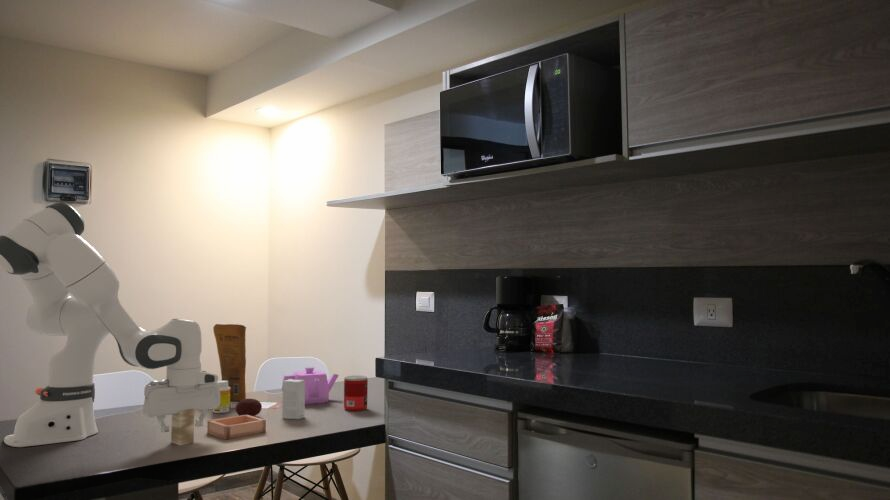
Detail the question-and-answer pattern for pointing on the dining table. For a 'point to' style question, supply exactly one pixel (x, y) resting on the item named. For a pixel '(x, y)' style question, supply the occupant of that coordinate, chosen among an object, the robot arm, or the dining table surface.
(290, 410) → the skincare box
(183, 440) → the beige tall rectangular block
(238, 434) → the tray
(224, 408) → the supplement bottle
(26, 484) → the dining table surface
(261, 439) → the dining table surface
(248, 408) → the potato
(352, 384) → the canned food
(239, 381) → the pancake mix bag
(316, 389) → the teakettle
